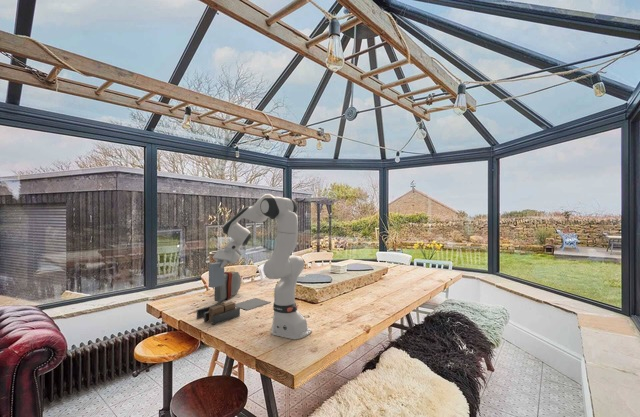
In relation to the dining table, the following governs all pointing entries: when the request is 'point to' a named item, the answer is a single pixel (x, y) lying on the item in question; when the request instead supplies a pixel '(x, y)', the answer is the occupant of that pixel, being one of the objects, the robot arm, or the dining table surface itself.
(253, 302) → the mat
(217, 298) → the decorative stone tablet
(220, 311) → the offcut
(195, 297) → the dining table surface
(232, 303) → the offcut
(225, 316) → the rack
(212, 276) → the panel
